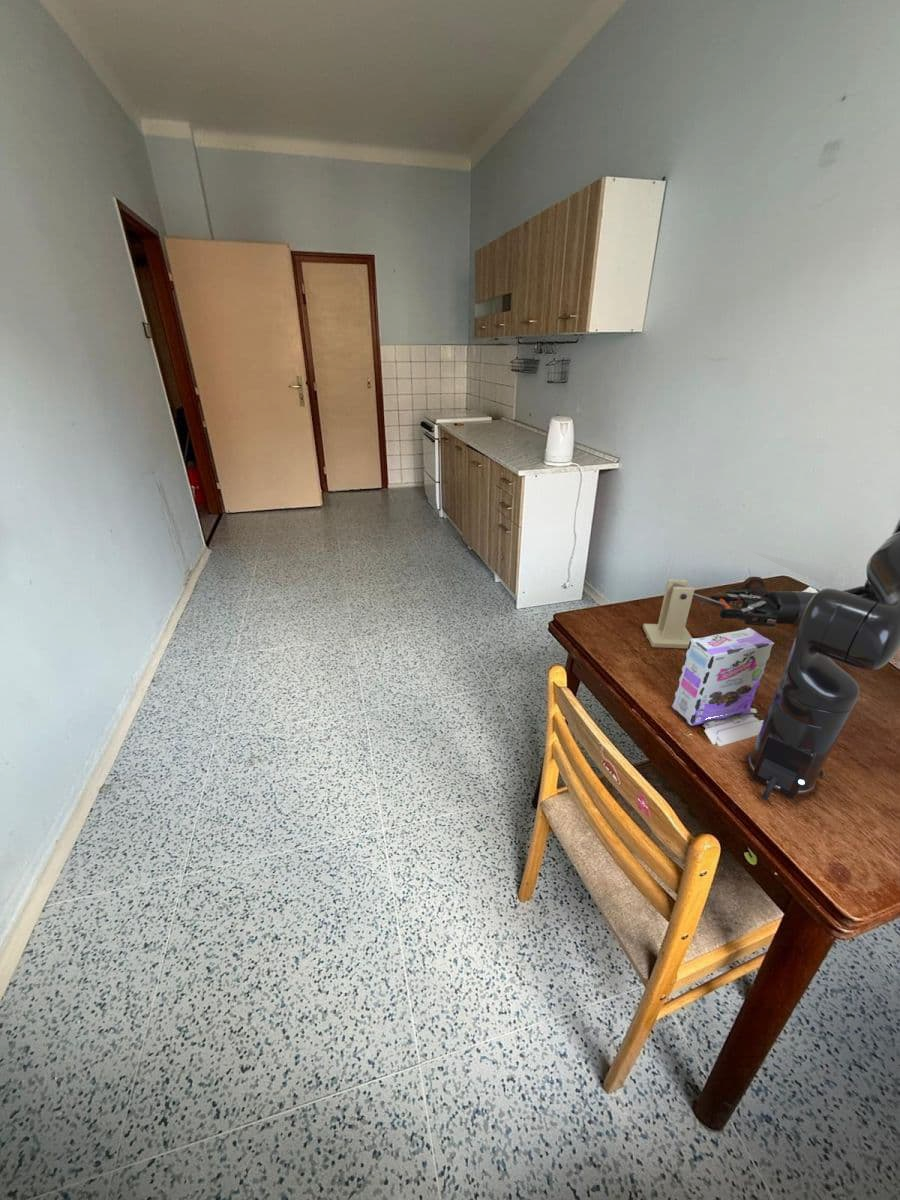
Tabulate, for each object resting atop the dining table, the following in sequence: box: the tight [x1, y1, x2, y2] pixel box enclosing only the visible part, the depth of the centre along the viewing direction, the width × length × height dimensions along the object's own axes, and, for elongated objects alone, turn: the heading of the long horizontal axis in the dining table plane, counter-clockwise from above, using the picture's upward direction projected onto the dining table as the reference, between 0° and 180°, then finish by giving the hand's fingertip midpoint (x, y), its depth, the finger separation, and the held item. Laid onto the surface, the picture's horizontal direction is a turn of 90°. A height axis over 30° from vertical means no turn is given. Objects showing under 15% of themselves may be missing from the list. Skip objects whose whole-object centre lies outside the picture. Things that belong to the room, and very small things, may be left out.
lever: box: [670, 583, 733, 609], centre depth 110 cm, size 14×6×2 cm, turn 85°
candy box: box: [671, 627, 775, 727], centre depth 89 cm, size 14×6×16 cm, turn 105°
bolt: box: [741, 576, 770, 597], centre depth 128 cm, size 6×5×15 cm
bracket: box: [642, 578, 696, 649], centre depth 112 cm, size 10×9×15 cm
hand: (715, 606), depth 110 cm, fingers closed on lever, 6 cm apart
